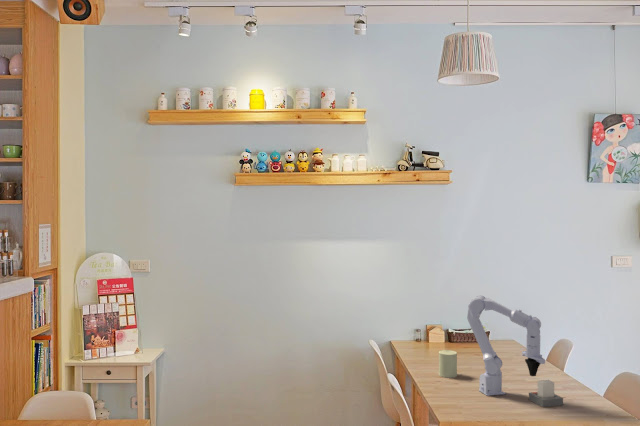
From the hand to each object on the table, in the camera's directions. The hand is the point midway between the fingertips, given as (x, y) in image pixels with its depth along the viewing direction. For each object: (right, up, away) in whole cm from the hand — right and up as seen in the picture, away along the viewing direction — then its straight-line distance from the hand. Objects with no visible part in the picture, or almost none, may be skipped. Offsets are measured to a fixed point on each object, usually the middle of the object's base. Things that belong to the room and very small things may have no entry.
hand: (532, 375), depth 265 cm
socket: (+4, -10, -5) cm, 12 cm away
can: (-30, -9, +35) cm, 47 cm away
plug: (+4, -9, -5) cm, 11 cm away
